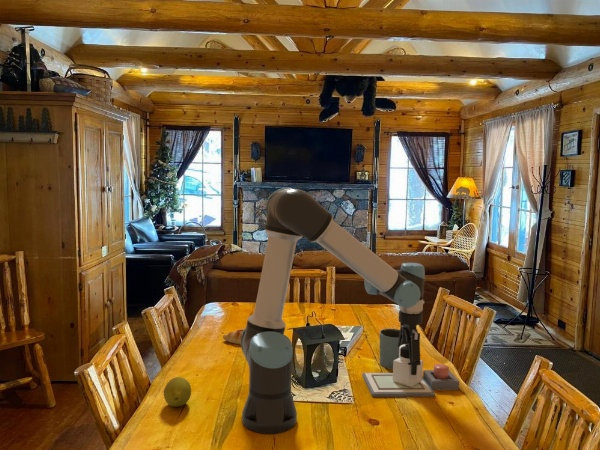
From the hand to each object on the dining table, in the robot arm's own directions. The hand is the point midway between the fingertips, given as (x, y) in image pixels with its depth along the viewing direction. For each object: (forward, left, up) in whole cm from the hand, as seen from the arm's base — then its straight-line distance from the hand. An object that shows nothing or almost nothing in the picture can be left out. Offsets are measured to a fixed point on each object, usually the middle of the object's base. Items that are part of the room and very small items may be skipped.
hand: (407, 376), depth 160 cm
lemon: (-13, +72, -3) cm, 74 cm away
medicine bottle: (0, 0, -2) cm, 2 cm away
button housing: (+1, -12, -3) cm, 12 cm away
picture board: (0, +3, -3) cm, 4 cm away
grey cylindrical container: (+18, 0, -3) cm, 18 cm away
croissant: (+42, +54, -3) cm, 68 cm away
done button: (+1, -12, -1) cm, 12 cm away
